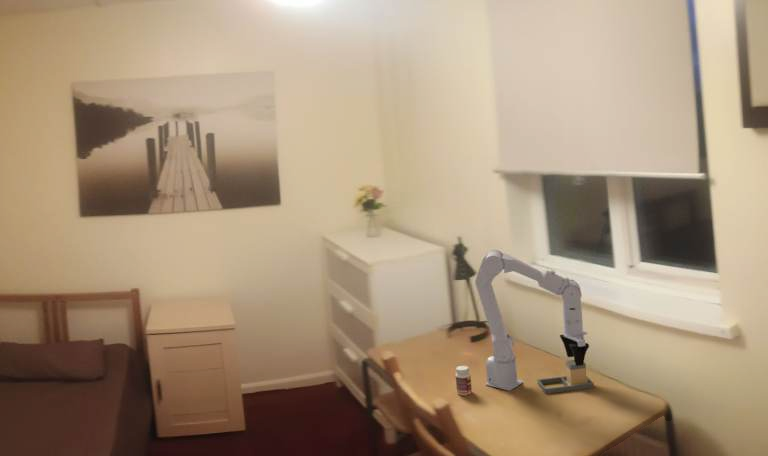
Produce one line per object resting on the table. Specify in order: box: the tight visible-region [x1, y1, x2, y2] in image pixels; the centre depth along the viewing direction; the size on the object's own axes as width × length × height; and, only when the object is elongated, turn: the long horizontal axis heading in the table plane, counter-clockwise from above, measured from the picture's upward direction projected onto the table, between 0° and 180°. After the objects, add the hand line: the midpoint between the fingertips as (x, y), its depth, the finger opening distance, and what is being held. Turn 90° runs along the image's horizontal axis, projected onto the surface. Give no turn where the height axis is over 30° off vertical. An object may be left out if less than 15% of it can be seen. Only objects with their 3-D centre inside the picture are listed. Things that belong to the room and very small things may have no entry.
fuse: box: [565, 359, 587, 385], centre depth 204 cm, size 5×4×7 cm
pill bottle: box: [455, 365, 473, 396], centre depth 207 cm, size 5×5×8 cm
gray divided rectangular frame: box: [536, 375, 595, 395], centre depth 204 cm, size 16×8×2 cm, turn 92°
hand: (575, 360), depth 203 cm, fingers open, 7 cm apart
